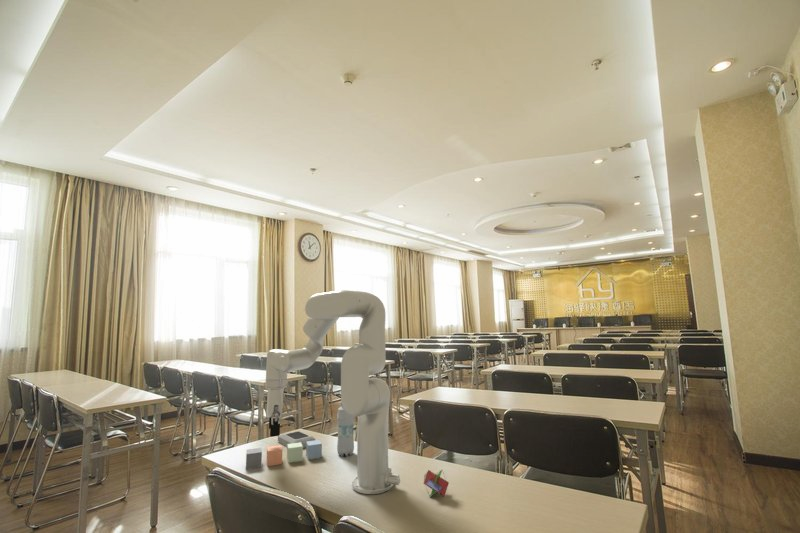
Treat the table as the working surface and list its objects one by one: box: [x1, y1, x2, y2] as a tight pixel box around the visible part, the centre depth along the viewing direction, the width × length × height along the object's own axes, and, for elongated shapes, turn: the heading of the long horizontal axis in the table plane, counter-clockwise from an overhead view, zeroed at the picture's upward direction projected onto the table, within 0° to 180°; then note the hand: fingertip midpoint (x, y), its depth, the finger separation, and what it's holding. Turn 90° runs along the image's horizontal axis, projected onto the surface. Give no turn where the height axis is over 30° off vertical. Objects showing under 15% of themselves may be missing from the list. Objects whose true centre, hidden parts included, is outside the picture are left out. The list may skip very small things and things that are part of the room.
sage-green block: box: [286, 442, 304, 464], centre depth 136 cm, size 5×5×5 cm
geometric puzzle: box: [423, 469, 450, 497], centre depth 107 cm, size 7×7×8 cm
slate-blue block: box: [305, 439, 323, 460], centre depth 138 cm, size 5×5×5 cm
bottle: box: [336, 402, 355, 457], centre depth 141 cm, size 7×7×20 cm
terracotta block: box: [266, 444, 283, 467], centre depth 133 cm, size 5×5×5 cm
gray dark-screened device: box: [277, 430, 316, 449], centre depth 154 cm, size 10×4×15 cm
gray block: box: [245, 447, 263, 470], centre depth 131 cm, size 5×5×5 cm
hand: (274, 432), depth 135 cm, fingers open, 9 cm apart
